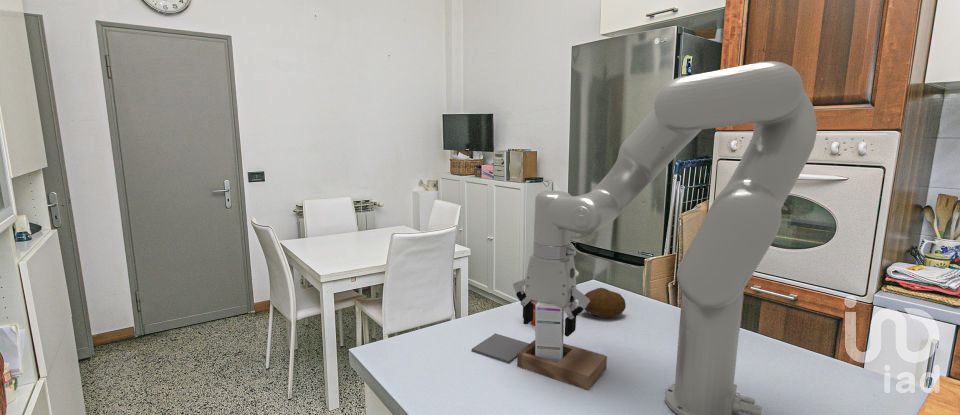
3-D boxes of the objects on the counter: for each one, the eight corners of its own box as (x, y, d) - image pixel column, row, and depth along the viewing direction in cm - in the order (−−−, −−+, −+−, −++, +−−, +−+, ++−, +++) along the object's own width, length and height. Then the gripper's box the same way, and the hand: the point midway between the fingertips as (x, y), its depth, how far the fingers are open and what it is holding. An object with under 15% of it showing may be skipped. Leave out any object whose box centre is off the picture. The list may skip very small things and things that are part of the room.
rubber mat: (531, 346, 108) (531, 344, 108) (509, 363, 100) (509, 361, 100) (495, 335, 114) (495, 333, 114) (471, 351, 106) (471, 348, 106)
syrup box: (562, 371, 97) (564, 305, 95) (533, 369, 98) (535, 303, 96) (562, 358, 103) (565, 296, 100) (536, 356, 104) (537, 294, 101)
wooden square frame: (606, 369, 98) (607, 355, 98) (588, 390, 90) (588, 376, 90) (538, 348, 107) (539, 336, 107) (517, 366, 99) (517, 353, 99)
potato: (630, 321, 123) (631, 293, 122) (584, 323, 122) (585, 294, 120) (618, 309, 131) (619, 283, 130) (575, 311, 130) (576, 284, 128)
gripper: (598, 253, 94) (593, 332, 97) (524, 240, 104) (521, 312, 107) (583, 262, 88) (579, 346, 91) (506, 247, 98) (504, 323, 101)
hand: (548, 328), depth 99 cm, fingers open, 9 cm apart
